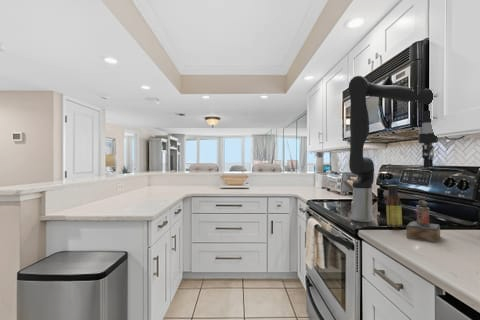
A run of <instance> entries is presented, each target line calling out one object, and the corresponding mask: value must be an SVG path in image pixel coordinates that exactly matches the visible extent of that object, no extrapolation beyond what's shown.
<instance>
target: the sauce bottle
mask: <svg viewBox="0 0 480 320" xmlns="http://www.w3.org/2000/svg"><path fill="white" fill-rule="evenodd" d="M398 188H399V187H398V185H397V184H388V185H387V191H388V195H387V197H386V201H385V204H386V205H385V207H386V208H385V210H386V224H387V227H388V226H390V227H402V228H403V213H402V202H401V199H400V196H399V193H398ZM390 227H389V228H390Z"/></svg>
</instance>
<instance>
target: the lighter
mask: <svg viewBox="0 0 480 320" xmlns="http://www.w3.org/2000/svg"><path fill="white" fill-rule="evenodd" d="M415 222H416V223H417V224H418V225H420V226H422V227H430V225H429V223H430V207H428V202H427V201H425V200H420V199H419V200H418V204H416V220H415Z"/></svg>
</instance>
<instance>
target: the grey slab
mask: <svg viewBox="0 0 480 320" xmlns="http://www.w3.org/2000/svg"><path fill="white" fill-rule="evenodd" d="M429 225H430V227H422V226H420V225H418V224H417V223H416V220H415V221H410V222H409V223H408V224H407V225H406V227H405V228H406V230H405V231H406V235H405V236H406V238H408V239H414V240H420V241H424V242H432V243H438V241H439V239H440V238H441V226H440V224H437V223H430V222H429Z"/></svg>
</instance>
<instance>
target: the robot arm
mask: <svg viewBox="0 0 480 320" xmlns="http://www.w3.org/2000/svg"><path fill="white" fill-rule="evenodd" d="M409 87H410V86H409ZM409 87H408V86H403V85H394V84H392V85H388V84H387V85H385V84H376V83H372V82H369V81H368V80H367V79H366V78H365V76H361V75H355V76H353V78H351V79H350V81H349V83H348V92H349V93H348V94H349V98H350V110H349V111H350V115H349V133H350V134H349V135H350V140H349V141H350V151H349V160H348V166H349V171H350V172H351V174H353V175H356V176H357V178H356V180H354V181H353V182H352V201H351V202H350V203H351V205H350V206H351V211H350V212H351V221H355V222H358V223H359V222H360V223H361V222H362V223H370V222H371V223H372V222H373V183H374V179H375V163H374V161H373V160H372V158H370V157H366V156H365V157H364V146H365V144H366V141H367V139H368V137H369V134H370V118H369V111H368V108H367V97H373V98H374V97H375V98H381V99H388V100H393V101H398V102H404V103H410V102H409V101H413V100H418V101H419V102H421V103H423V104H426V105H428V104H430V103H431V102H432V100H433V93H432V91H431V90H432V89H431V88H425V89H424V90H422V91H421V92H420V94H418V95H417V94H415V93H413V91H412V90H411V89H410V88H411V87H410V88H409ZM430 89H431V90H430ZM418 128H419V127H418ZM418 128H417V129H418ZM417 131H418V134H417V135H418V136H417V137H418V144H422V145H421V147H422V148H421V149H422V150H421V152H422V153H421V155H422V156H421V159H423V168H424V169H425V168H427V169H428V168H433V167H434V165H433V164H434V163H433V161H434V157H435V156H434V155H435V154H434V150H435V146H434V145H433V144H436V143H438V142H439V136H438V137H437V136H435V135H434V132H433V129H432V125H431V119H430V111H429V110H427V111H425V112H424V118H423V123H422V127H421V128H419V129H418V130H417Z"/></svg>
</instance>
